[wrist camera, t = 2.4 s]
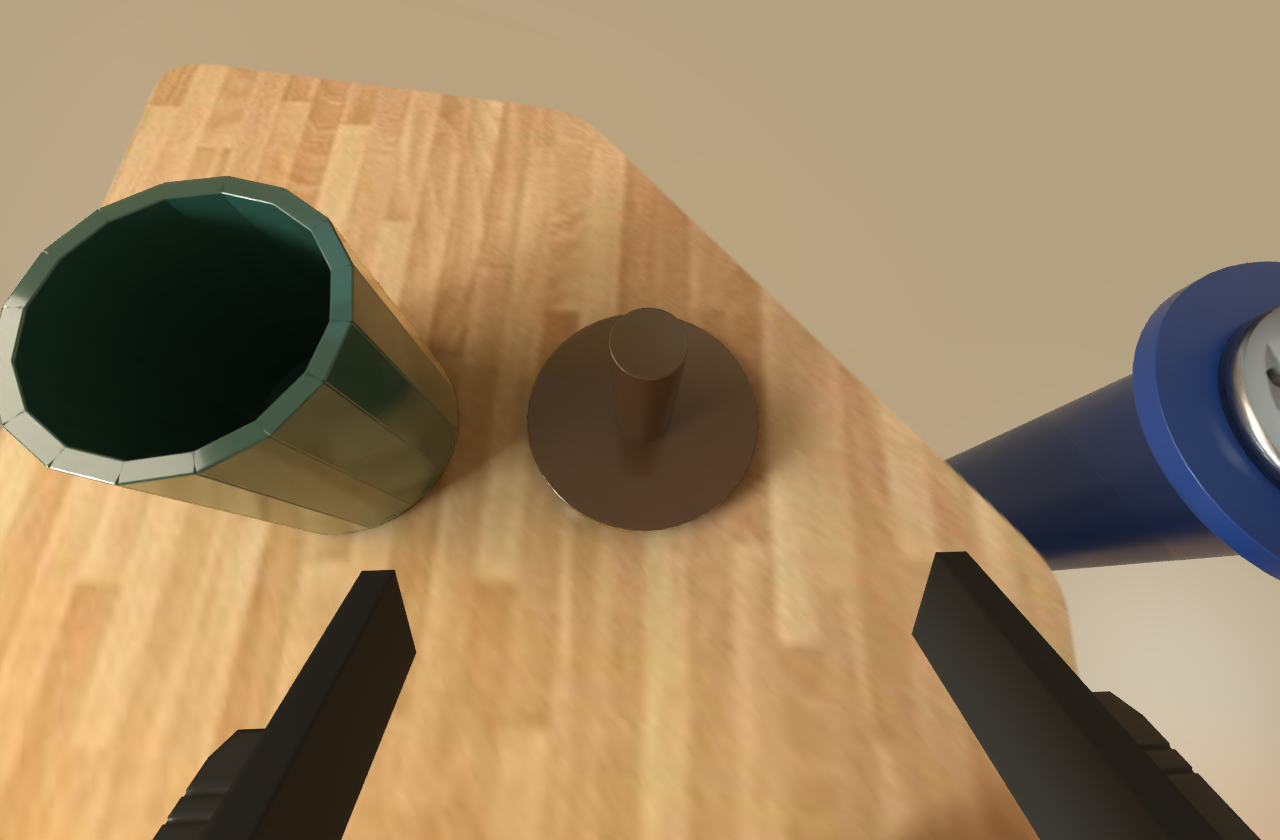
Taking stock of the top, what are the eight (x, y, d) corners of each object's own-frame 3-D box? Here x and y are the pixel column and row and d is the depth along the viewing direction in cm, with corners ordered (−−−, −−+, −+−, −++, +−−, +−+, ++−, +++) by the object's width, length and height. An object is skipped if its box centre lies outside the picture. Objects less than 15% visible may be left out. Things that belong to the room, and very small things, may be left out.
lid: (797, 457, 30) (872, 391, 21) (603, 580, 28) (591, 568, 19) (675, 289, 34) (693, 170, 24) (491, 386, 31) (435, 294, 22)
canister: (494, 462, 30) (407, 367, 18) (289, 577, 27) (34, 555, 16) (407, 303, 33) (284, 133, 21) (216, 396, 31) (-42, 263, 19)
